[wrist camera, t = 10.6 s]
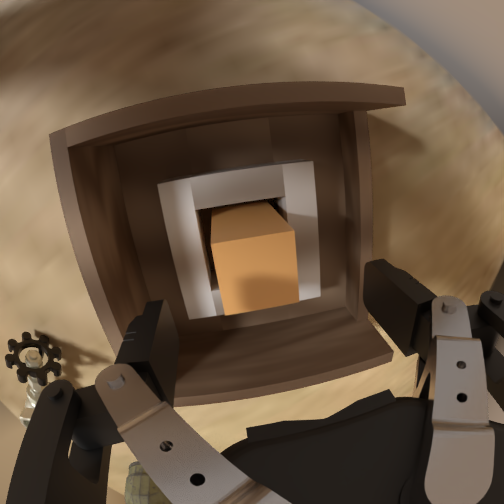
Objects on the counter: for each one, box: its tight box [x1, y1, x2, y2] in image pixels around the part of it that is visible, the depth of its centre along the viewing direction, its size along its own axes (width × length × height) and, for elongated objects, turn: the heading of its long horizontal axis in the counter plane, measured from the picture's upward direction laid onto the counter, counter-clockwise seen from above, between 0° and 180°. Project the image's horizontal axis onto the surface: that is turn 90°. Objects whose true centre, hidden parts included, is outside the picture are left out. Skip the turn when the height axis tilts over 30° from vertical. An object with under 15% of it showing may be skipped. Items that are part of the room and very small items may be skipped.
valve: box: [5, 332, 62, 429], centre depth 21 cm, size 7×7×12 cm
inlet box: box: [49, 82, 406, 407], centre depth 18 cm, size 18×18×8 cm
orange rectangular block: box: [211, 200, 300, 316], centre depth 18 cm, size 4×4×8 cm
